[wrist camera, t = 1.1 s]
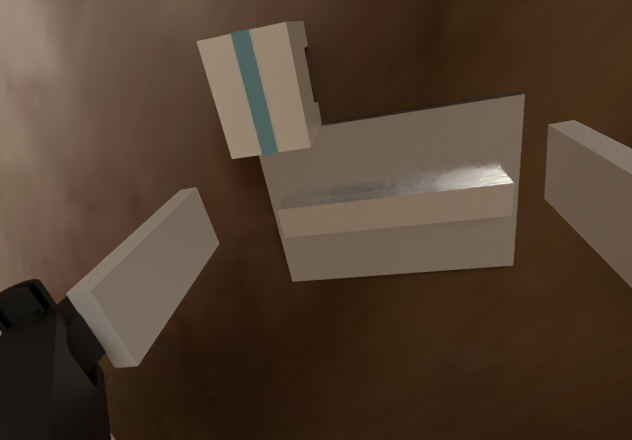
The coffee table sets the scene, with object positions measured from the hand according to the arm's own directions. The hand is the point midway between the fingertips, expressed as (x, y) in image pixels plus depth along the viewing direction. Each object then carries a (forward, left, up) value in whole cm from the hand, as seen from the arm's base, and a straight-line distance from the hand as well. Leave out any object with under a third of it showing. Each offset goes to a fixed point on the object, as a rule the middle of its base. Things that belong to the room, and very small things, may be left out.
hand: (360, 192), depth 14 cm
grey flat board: (+9, +1, -19) cm, 21 cm away
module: (-3, -7, -19) cm, 21 cm away
